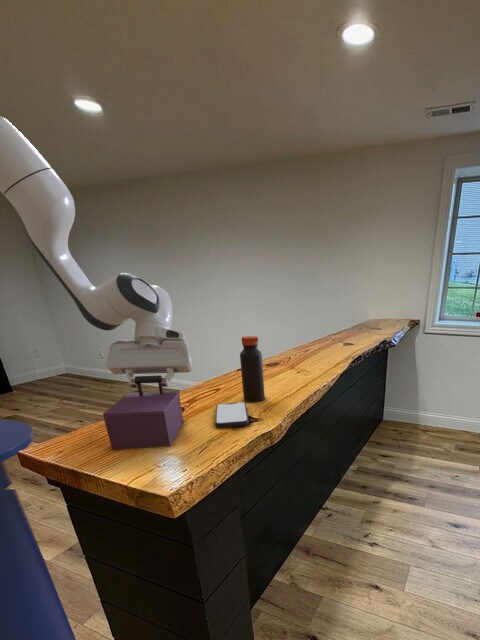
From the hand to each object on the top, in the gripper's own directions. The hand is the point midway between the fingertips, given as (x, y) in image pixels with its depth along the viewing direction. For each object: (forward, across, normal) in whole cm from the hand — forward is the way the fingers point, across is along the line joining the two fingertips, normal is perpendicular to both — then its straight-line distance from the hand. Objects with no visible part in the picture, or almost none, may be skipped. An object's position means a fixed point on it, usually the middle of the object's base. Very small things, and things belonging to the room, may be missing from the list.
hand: (149, 386), depth 88 cm
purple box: (+12, 0, +4) cm, 12 cm away
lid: (+6, 0, -1) cm, 6 cm away
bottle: (-7, +25, +22) cm, 34 cm away
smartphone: (+5, +19, +11) cm, 23 cm away
